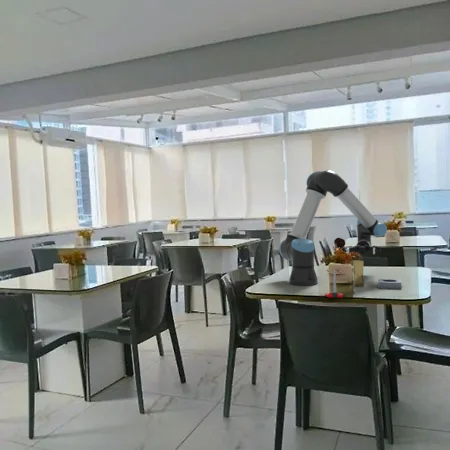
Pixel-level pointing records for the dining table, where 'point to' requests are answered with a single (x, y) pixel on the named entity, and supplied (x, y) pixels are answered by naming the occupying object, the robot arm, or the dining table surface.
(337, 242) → the dark brown rounded piece
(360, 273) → the golden tall block
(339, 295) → the grey spike red base
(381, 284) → the jig
